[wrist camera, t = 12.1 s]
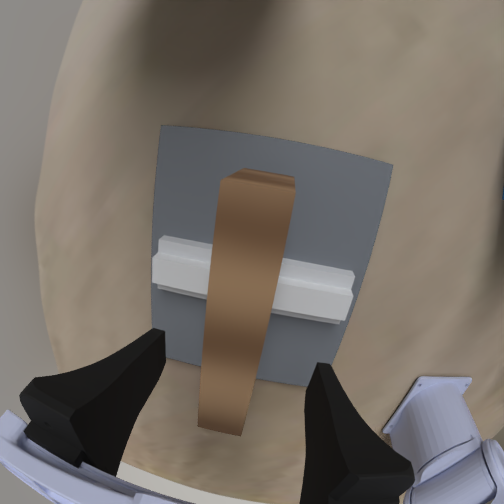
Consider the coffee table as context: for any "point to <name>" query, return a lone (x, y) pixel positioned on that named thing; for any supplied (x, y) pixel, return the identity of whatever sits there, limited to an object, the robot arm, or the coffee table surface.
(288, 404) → the coffee table surface
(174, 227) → the ridge stand
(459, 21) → the coffee table surface
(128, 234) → the coffee table surface
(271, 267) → the walnut bar
